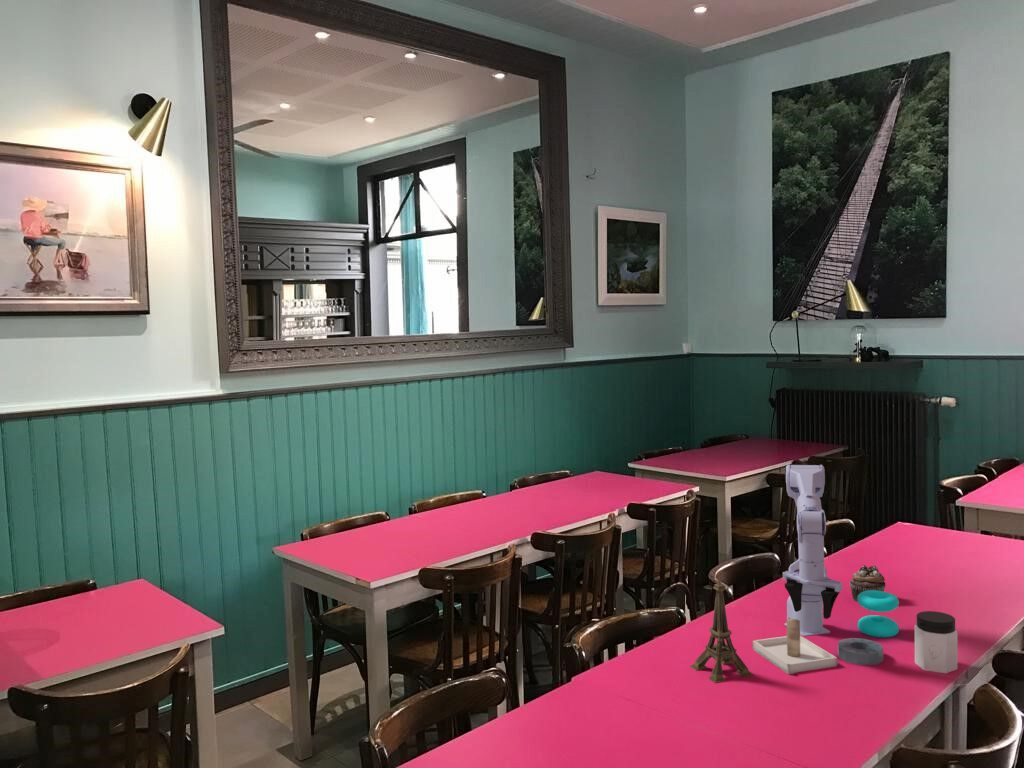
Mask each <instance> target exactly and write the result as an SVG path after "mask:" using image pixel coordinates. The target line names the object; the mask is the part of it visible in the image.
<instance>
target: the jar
mask: <svg viewBox="0 0 1024 768" xmlns="http://www.w3.org/2000/svg"><path fill="white" fill-rule="evenodd" d="M914 664H916V665H917V666H918V667H920V668H921V669H922V670H923V671H926V672H927V671H928V672H934V673H941V674H948V673H950V672H954V671H956V670H958V629H956V618H955V617H954V616H953V615H951V614H948V613H945V612H941V611H933V610H932V611H931V610H925V611H920V612H918V613H917V614H916V624H914Z"/></svg>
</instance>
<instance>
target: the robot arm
mask: <svg viewBox="0 0 1024 768" xmlns="http://www.w3.org/2000/svg"><path fill="white" fill-rule="evenodd" d="M825 473H826V472H825V467H824V465H823V464H819V465H817V464H813V465H812V464H809V465H808V464H787V465H786V466H785V483H786V493H787V496H788V497H789V498H792V499H793V500H794V502H795V506H796V530H797V542H798V543H797V544H798V546H797V547H798V559H797V560H795V561H794V562H793V563H791V564H790V565H789V567H788V570H785V571H783V572H782V581H786V582H785V583H784V588H785V590H786V591H787V593H788V594H789V595H788V598H787V600H786V620H787V619H797V620H799V621H800V636H802V637H809V636H810V637H811V636H817V635H825V634H830V633H831V630H829V629H827V628H826V627H824V620H828V619H830V618H831V615H832V612H833V608H834V606H835V605H834V604H835V602H836V600H837V598H838V596H839V594H840V593H841V592H842V591H843V582H841V581H839V580H835V579H833V578H829V577H828V573H827V572H828V570H827V568H826V567H825V541H824V540H825V539H824V538H825V536H826V532H827V519H826V518H827V517H826V514H825V510H824V509H823V508H822V501H821V498H823V494H824V492H825V485H826V474H825ZM784 626H786V627H787V622H785V623H784Z"/></svg>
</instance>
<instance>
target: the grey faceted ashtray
mask: <svg viewBox="0 0 1024 768" xmlns="http://www.w3.org/2000/svg"><path fill="white" fill-rule="evenodd" d="M837 655H838V658H839V659H841V660H842V661H844V662H845V663H850V664H854V665H858V666H874V665H880V664H881V663H882V662H883V661H884V647H883V645H882V644H880V643H879V642H876V641H875V640H870V639H866V638H857V637H849V638H843V639H840V640H839V641H837Z"/></svg>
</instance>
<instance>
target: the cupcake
mask: <svg viewBox="0 0 1024 768" xmlns="http://www.w3.org/2000/svg"><path fill="white" fill-rule="evenodd" d="M885 581H886V579H885V577H884V575H883V574H882V573H881V572H880V571H879V568H878V567H877V566H876V565H871V566H868V567H867V566H866V565H865V564H864V565H862V566H861V567H860V568H859V569H858V570H857V571H856V572H854V573H852V579H851V580H850V581H848V582H849V587H850V592H851V595H852V596H851V597H852V599H854V601H855V602H857V603H858V601H857V597H858V595H859V594H860V593H861V592H864V591H871V590H876V591H884V592H885V588H886V586H887V585H886V582H885Z"/></svg>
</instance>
